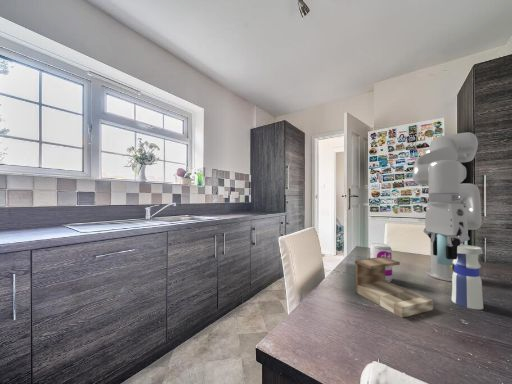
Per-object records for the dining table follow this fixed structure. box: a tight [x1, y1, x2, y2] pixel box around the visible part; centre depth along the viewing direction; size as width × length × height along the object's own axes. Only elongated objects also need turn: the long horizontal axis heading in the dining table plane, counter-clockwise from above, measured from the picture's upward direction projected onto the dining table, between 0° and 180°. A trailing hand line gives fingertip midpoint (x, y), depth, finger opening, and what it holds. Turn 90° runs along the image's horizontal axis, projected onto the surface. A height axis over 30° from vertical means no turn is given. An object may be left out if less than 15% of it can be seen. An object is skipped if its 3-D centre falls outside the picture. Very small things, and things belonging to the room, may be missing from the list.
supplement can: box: [369, 242, 393, 283], centre depth 93 cm, size 8×8×15 cm
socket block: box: [354, 257, 434, 319], centre depth 75 cm, size 14×18×12 cm
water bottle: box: [451, 243, 484, 310], centre depth 72 cm, size 8×8×25 cm
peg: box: [437, 234, 453, 265], centre depth 68 cm, size 4×4×10 cm
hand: (444, 256), depth 67 cm, fingers closed on peg, 3 cm apart
